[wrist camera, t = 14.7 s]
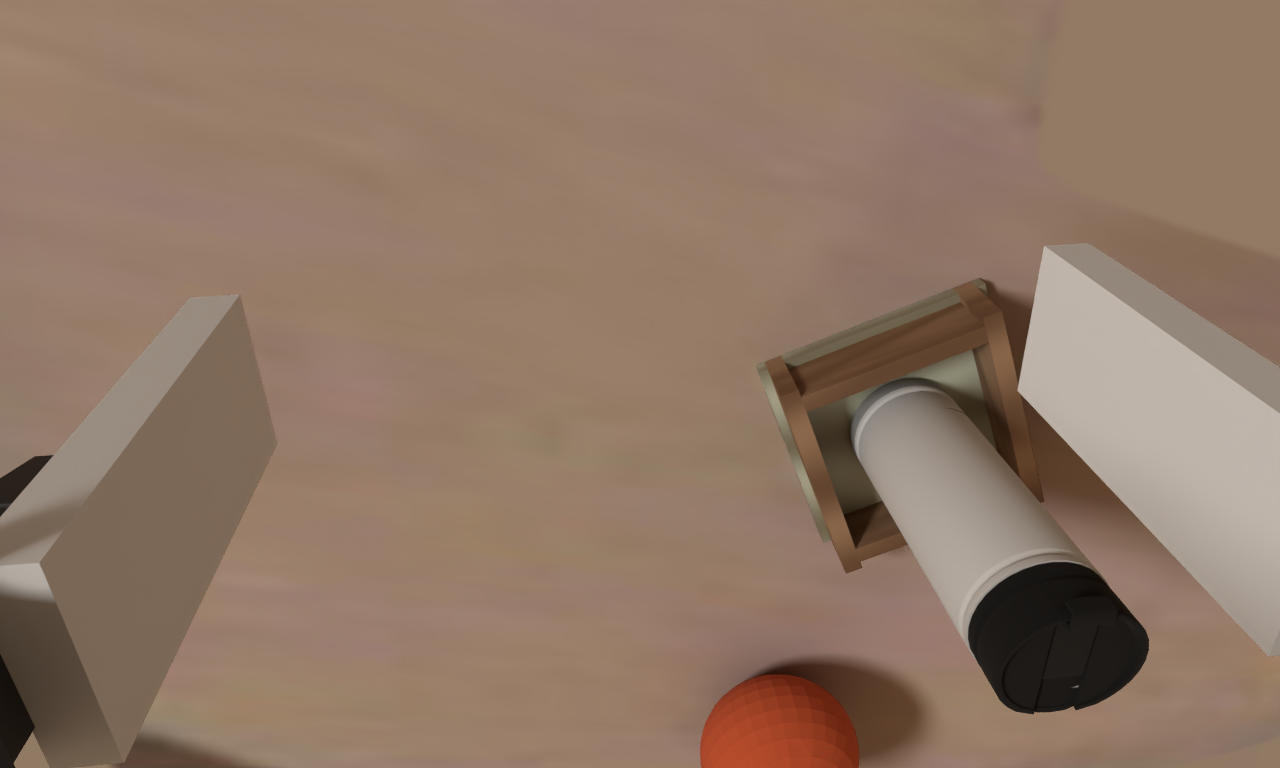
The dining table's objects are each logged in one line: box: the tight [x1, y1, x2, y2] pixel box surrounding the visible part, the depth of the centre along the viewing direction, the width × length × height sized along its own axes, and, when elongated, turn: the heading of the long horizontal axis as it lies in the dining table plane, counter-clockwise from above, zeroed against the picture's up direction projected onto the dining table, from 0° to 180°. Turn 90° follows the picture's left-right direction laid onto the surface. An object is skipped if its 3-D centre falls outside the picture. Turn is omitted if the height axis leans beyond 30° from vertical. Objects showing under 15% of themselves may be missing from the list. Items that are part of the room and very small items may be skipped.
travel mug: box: [850, 378, 1149, 714], centre depth 45 cm, size 6×7×20 cm
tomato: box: [700, 675, 859, 768], centre depth 60 cm, size 10×10×10 cm
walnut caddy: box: [756, 278, 1044, 574], centre depth 53 cm, size 13×13×4 cm
